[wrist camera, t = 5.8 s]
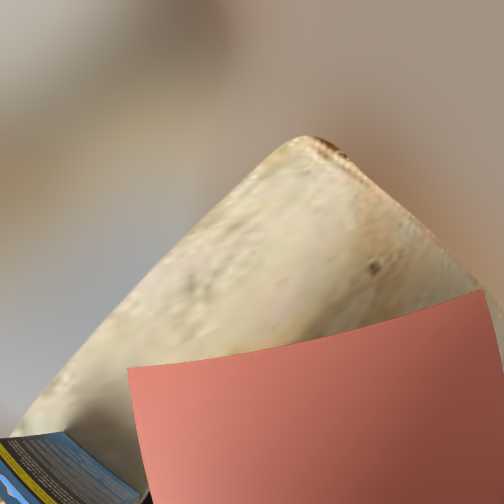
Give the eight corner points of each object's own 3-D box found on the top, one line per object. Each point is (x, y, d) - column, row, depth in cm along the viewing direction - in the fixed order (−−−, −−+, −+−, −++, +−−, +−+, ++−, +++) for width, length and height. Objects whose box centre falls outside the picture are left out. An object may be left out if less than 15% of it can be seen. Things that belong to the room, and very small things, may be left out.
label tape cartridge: (50, 458, 18) (-51, 471, 7) (63, 429, 19) (-44, 435, 8) (127, 521, 16) (45, 580, 5) (145, 494, 17) (58, 554, 6)
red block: (347, 446, 13) (502, 548, 2) (252, 467, 13) (208, 636, 1) (330, 358, 15) (482, 288, 4) (234, 378, 15) (126, 367, 3)
